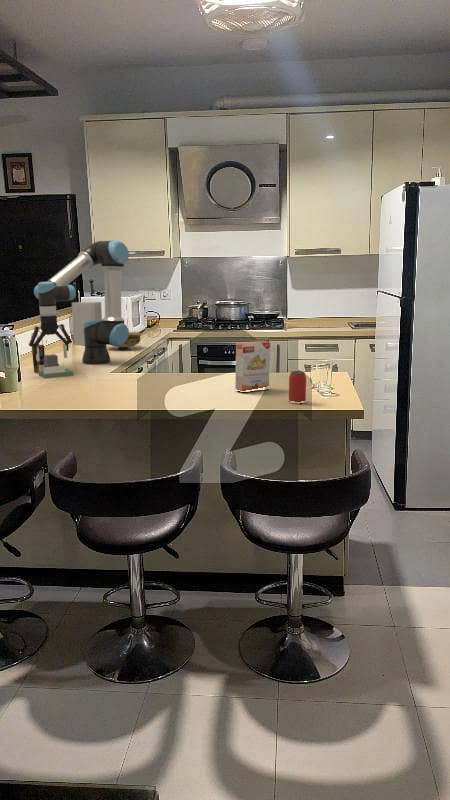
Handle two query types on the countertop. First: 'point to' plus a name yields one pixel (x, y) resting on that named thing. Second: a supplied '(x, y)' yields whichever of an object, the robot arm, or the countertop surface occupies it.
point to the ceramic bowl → (130, 341)
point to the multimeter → (41, 357)
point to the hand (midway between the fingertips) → (52, 359)
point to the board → (54, 371)
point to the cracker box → (252, 365)
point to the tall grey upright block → (84, 318)
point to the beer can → (297, 386)
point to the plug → (50, 360)
